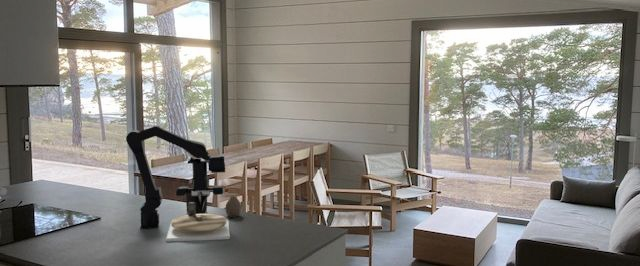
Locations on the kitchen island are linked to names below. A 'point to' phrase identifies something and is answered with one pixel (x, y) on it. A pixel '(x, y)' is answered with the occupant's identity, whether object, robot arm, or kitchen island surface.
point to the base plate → (198, 234)
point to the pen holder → (191, 199)
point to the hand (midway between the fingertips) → (201, 211)
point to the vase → (233, 207)
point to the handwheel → (198, 220)
